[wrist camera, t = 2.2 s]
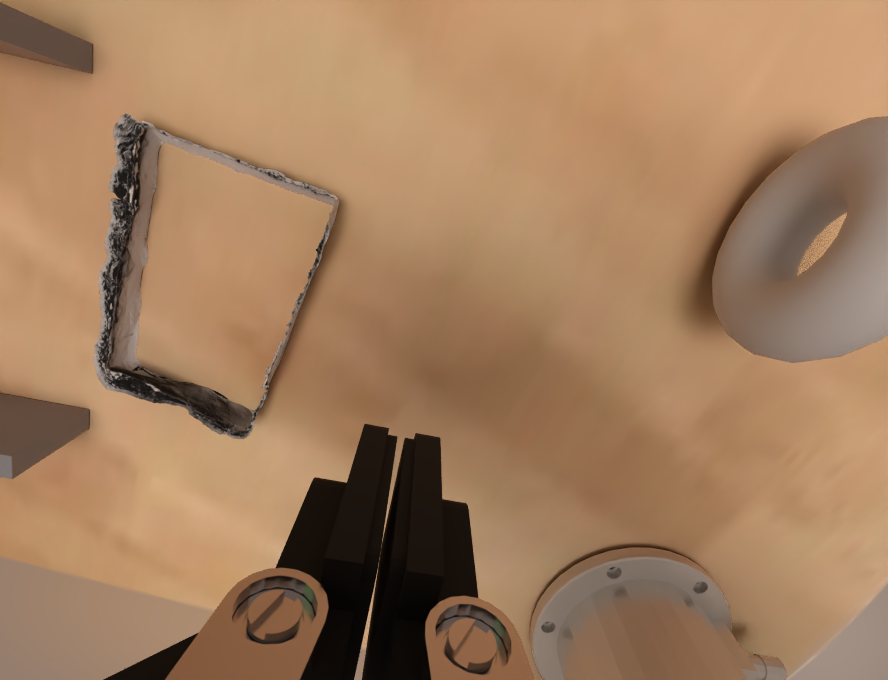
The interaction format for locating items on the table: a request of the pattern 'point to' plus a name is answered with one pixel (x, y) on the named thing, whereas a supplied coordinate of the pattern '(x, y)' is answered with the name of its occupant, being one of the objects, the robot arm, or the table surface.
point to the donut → (789, 236)
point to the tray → (12, 417)
